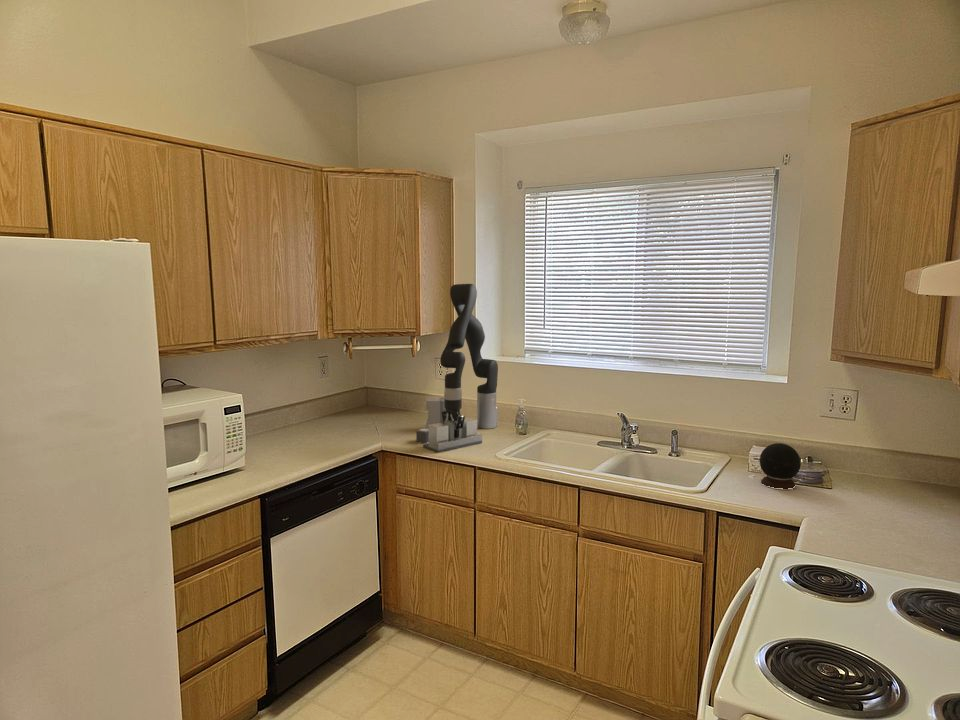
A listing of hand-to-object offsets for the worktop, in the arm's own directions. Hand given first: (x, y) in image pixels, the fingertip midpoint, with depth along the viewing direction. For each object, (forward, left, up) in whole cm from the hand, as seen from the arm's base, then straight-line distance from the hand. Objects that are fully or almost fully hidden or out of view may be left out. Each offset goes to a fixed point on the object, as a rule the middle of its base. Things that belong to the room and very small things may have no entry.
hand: (452, 436), depth 270 cm
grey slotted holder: (0, 0, -4) cm, 4 cm away
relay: (+6, -13, -4) cm, 15 cm away
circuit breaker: (-12, -24, -4) cm, 27 cm away
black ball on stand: (-58, +114, -4) cm, 128 cm away
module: (0, 0, -1) cm, 1 cm away
